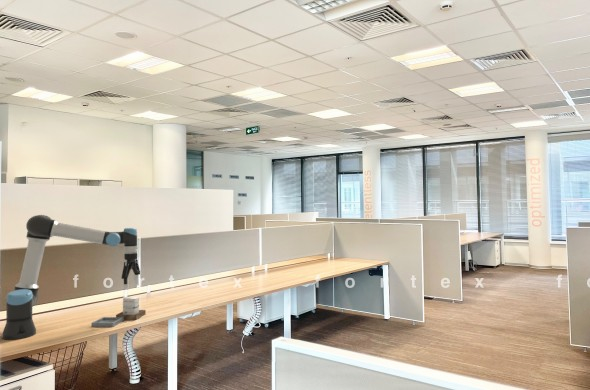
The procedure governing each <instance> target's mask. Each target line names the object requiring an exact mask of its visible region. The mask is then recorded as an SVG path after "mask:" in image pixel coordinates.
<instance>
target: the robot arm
mask: <svg viewBox="0 0 590 390" xmlns="http://www.w3.org/2000/svg"><path fill="white" fill-rule="evenodd" d="M25 226H26V230H27V232H26V237H25V238H26V239H27V241H28V242H27V247H26V250H25V251H26V252H25V256H24V260H23V264H22V269H21V272H20V278H19V281H18V283H16V284H15V286H14V290H12V291H9V292H8V293H7V294H6V297H5V298H6V299H5V301H6V304H5V305H6V307H5V308H6V322H5V326H4V329H3V331H2V335H1V337H2V339H3V340H9V341H10V340H20V339H25V338H29V337H33V336H34V335H36V334H37V328H36V325H35V323H34V320H33V307H34V306H35V305H36V304H37V301H38V298H39V297H38V295H39V289H40V286H39V284H38V279H39V275H40V270H41V266H42V261H43V257H44V252H45V248H46V244H47V242H48V241H50V239H51V238H52V237H59V238H65V239H69V240H70V239H71V240H77V241H82V242H88V243H94V244H99V245H100V244H101V245H105V246H109V247H116V246H118V245H123V247H124V248H123V249H124V250H123V251H124V254H123V255H124V256H123V258H124V262H123V268H122V274H121V279H122V280H123V290H125V291H126V290H129V289H130V286H129V283H130V282H129V275H130V273H131V270H132V272H133V286H140V285H139V275H141V270H140V265H139V261H138V253H137V252H138V232H137V231H138V229H137V228H136V227H127V228H126V227H125V228H124V229H123V231H105V230H100V229H95V228H94V229H93V228H90V227H89V228H88V227H84V226H80V225H79V226H78V225H74V224H73V225H71V224H67V223H63V222H58V221H57V220H56V219H53V218H51V217H50V216H48V215H44V214H39V215H38V214H37V215H33V216H31V217H30V218H29V219H28V220H27V222H26V225H25Z"/></svg>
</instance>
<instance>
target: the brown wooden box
mask: <svg viewBox="0 0 590 390" xmlns="http://www.w3.org/2000/svg"><path fill="white" fill-rule="evenodd" d="M145 315H146V309H139V313H138V314H136V315H123V311H121V312H119V313H116V314H115V317H124V321H137V320H139V319H140V318H142V317H144V316H145Z"/></svg>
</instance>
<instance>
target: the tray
mask: <svg viewBox="0 0 590 390" xmlns="http://www.w3.org/2000/svg"><path fill="white" fill-rule="evenodd" d="M124 321H125V320H124V317H116V316H103V317H100V318H99V319H96V320H95V321H92V322H91V328H92V327H93V328H95V327H96V328H99V327H100V328H101V327H104V328H105V327H106V328H109V327H111V328H114V327H115V326H117V325H118V324H121V323H122V322H124Z"/></svg>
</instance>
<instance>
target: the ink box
mask: <svg viewBox="0 0 590 390" xmlns="http://www.w3.org/2000/svg"><path fill="white" fill-rule="evenodd" d="M139 310H140V297H131V296H128V297H127V296H126V297H123V298H122V312H123V315H136V314H138V313H139Z"/></svg>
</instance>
